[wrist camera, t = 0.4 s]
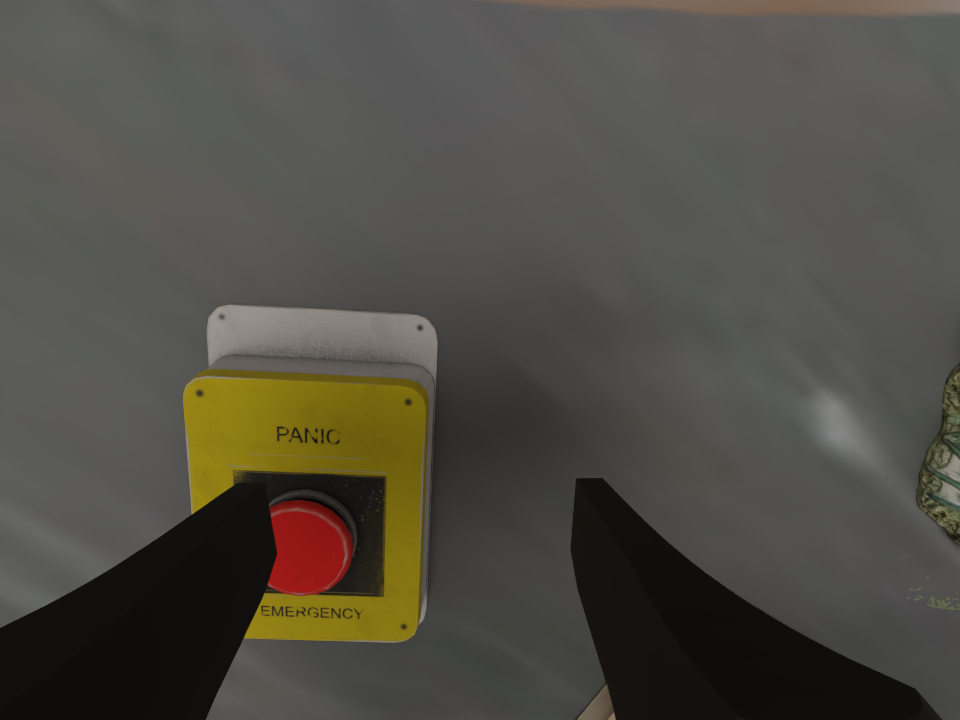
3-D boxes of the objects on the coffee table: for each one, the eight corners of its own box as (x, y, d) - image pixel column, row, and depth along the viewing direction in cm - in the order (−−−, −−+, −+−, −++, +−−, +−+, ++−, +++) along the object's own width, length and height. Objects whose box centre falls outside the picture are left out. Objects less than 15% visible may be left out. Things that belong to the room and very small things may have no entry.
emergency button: (182, 693, 21) (149, 317, 17) (231, 615, 25) (212, 300, 21) (418, 699, 21) (433, 332, 17) (426, 621, 25) (439, 313, 22)
